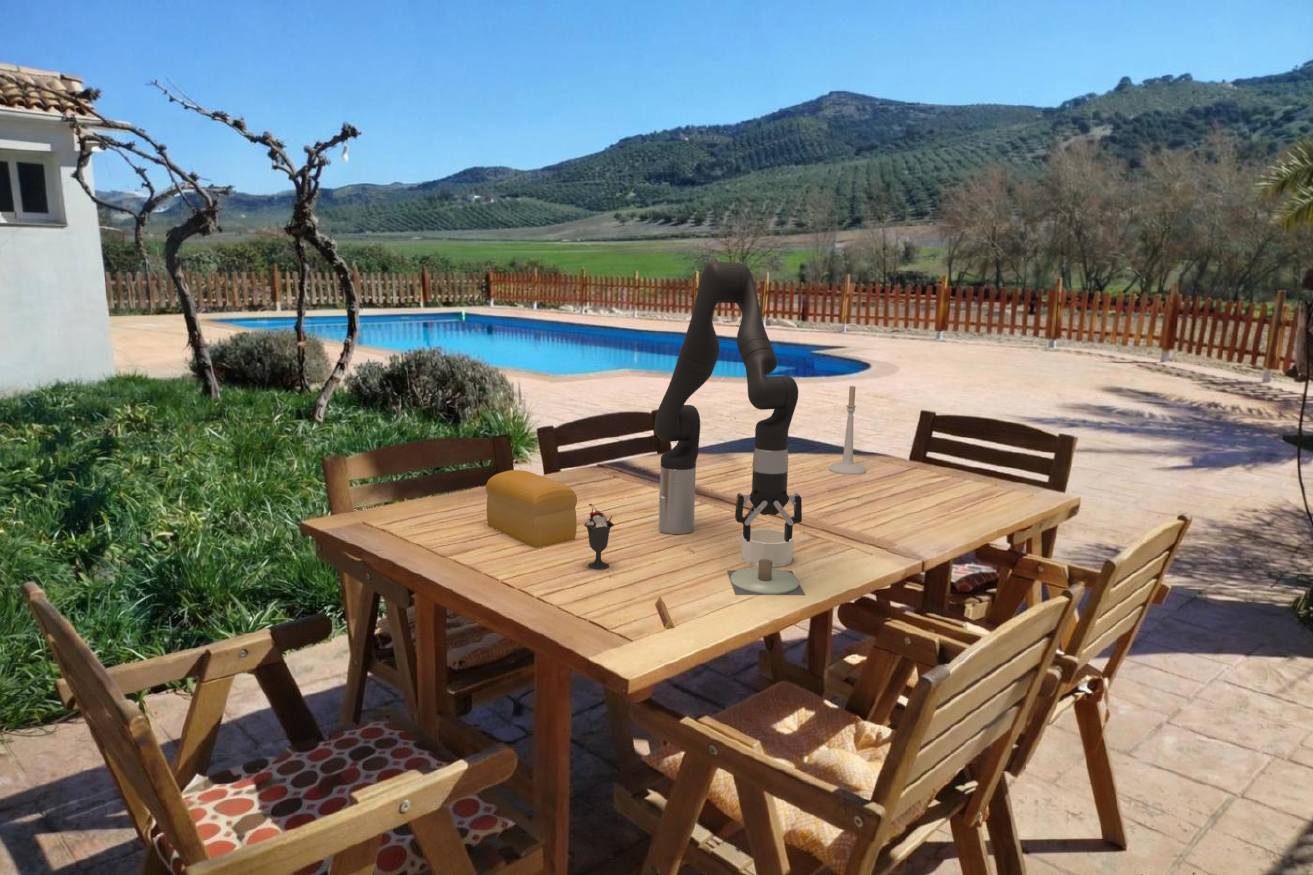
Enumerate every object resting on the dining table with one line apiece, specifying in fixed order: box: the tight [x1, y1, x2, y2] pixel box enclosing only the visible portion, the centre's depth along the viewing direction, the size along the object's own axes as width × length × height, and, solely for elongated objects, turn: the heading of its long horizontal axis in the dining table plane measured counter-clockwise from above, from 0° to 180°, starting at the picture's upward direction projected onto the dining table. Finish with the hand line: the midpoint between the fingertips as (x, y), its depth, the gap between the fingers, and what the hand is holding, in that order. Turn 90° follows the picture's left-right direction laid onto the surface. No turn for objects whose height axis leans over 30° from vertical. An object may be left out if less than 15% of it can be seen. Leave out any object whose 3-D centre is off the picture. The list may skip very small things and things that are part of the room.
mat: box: [726, 569, 806, 596], centre depth 193 cm, size 15×15×1 cm
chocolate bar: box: [654, 596, 676, 629], centre depth 174 cm, size 3×12×2 cm, turn 9°
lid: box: [730, 559, 800, 596], centre depth 192 cm, size 15×15×5 cm
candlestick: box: [828, 385, 867, 476], centre depth 301 cm, size 13×13×30 cm
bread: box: [485, 469, 578, 549], centre depth 225 cm, size 24×13×15 cm, turn 40°
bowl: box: [740, 527, 795, 568], centre depth 208 cm, size 12×12×6 cm
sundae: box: [583, 503, 615, 571], centre depth 201 cm, size 7×7×15 cm
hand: (767, 540), depth 191 cm, fingers open, 8 cm apart
